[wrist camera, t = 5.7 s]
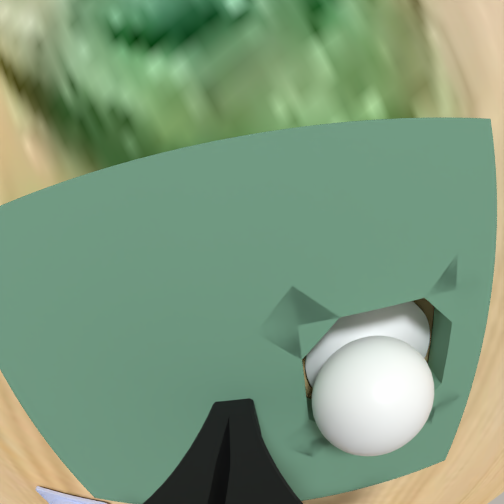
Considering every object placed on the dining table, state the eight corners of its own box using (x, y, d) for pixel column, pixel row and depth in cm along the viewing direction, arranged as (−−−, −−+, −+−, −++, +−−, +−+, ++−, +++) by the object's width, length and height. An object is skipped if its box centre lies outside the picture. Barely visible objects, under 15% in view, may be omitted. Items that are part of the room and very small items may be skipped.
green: (436, 443, 15) (444, 460, 13) (100, 481, 16) (94, 497, 14) (466, 120, 10) (490, 119, 8) (-33, 222, 10) (-53, 230, 9)
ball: (422, 394, 12) (422, 477, 8) (326, 394, 14) (302, 473, 10) (435, 310, 10) (452, 395, 7) (320, 312, 12) (291, 393, 8)
